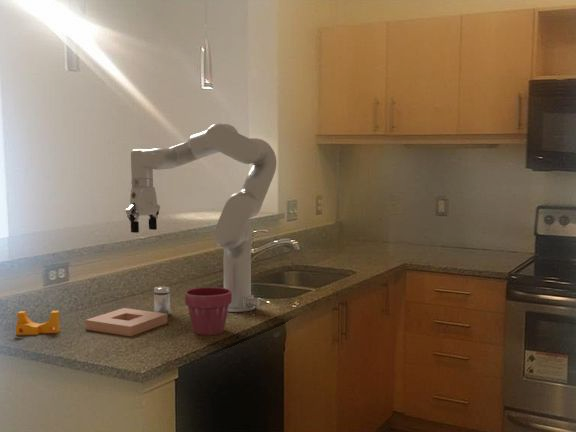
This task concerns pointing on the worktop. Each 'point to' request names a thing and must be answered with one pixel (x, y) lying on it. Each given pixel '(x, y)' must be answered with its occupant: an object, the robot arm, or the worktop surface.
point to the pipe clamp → (31, 328)
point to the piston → (162, 300)
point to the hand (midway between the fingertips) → (144, 230)
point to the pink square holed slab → (126, 321)
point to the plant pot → (208, 309)
